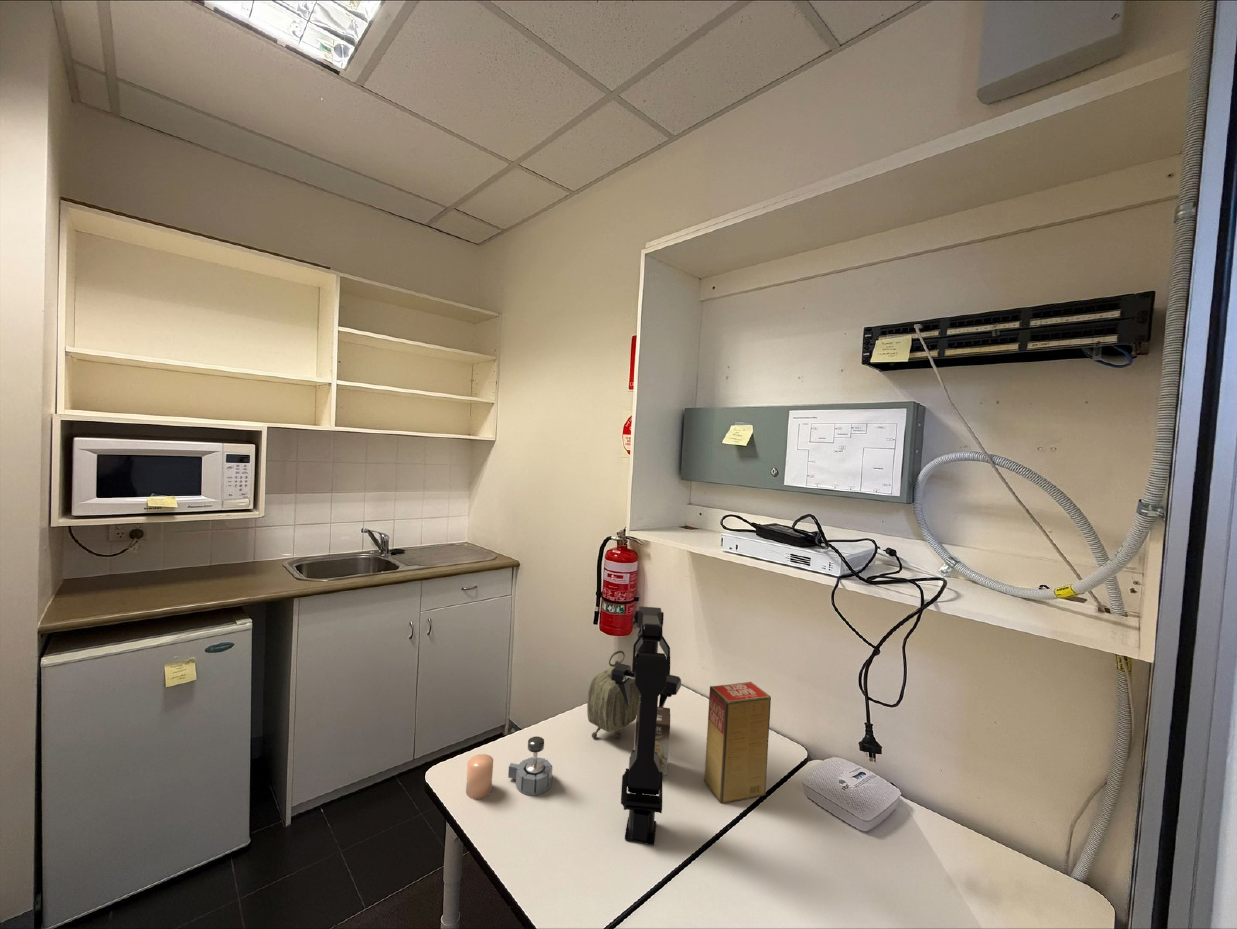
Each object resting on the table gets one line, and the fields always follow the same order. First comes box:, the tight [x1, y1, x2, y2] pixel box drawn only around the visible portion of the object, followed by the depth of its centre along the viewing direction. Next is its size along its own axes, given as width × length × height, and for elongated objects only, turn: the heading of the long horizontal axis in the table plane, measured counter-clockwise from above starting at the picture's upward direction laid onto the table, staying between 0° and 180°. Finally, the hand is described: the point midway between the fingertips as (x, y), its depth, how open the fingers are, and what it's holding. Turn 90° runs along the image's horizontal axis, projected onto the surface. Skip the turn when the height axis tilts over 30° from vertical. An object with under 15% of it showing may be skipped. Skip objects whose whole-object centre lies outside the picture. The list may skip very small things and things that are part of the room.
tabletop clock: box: [586, 649, 640, 739], centre depth 143 cm, size 14×9×25 cm, turn 139°
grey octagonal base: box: [507, 756, 553, 796], centre depth 120 cm, size 9×11×4 cm
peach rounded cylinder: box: [465, 753, 494, 800], centre depth 116 cm, size 6×6×7 cm
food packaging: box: [703, 681, 772, 804], centre depth 123 cm, size 13×9×25 cm
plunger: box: [526, 736, 545, 774], centre depth 120 cm, size 4×4×7 cm
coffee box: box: [633, 704, 671, 776], centre depth 127 cm, size 9×6×16 cm
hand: (643, 709), depth 132 cm, fingers open, 9 cm apart
